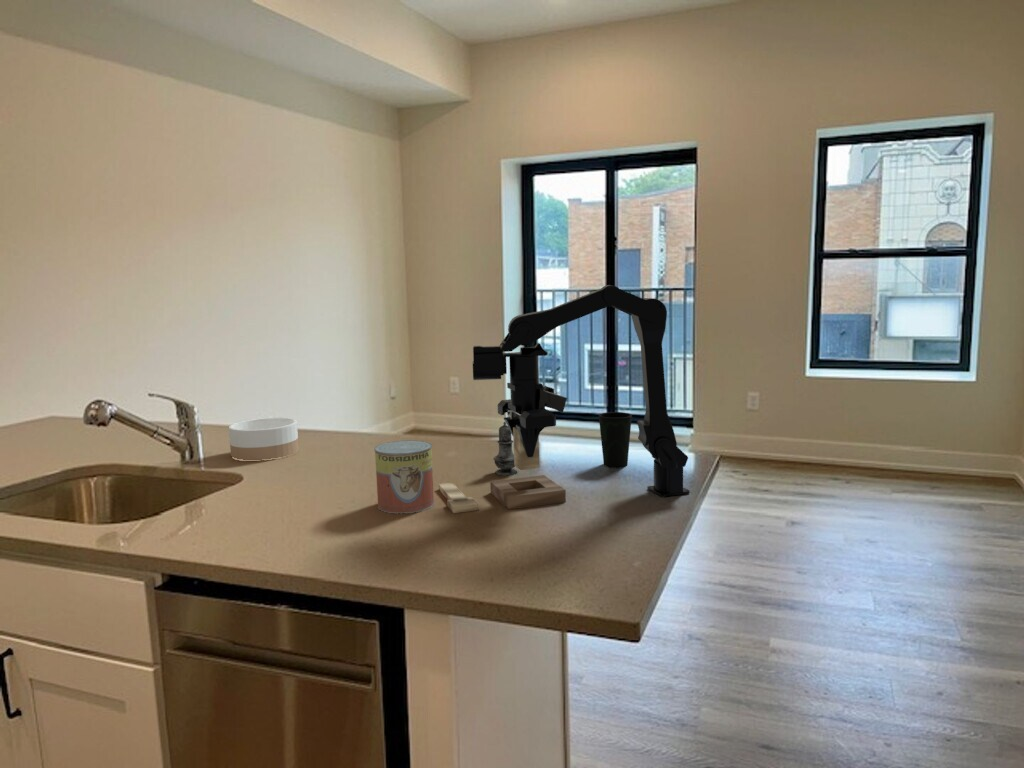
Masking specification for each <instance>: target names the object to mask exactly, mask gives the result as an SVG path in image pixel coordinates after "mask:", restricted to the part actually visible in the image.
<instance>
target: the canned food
mask: <svg viewBox="0 0 1024 768" xmlns="http://www.w3.org/2000/svg"><path fill="white" fill-rule="evenodd" d="M432 448H433V445H432V443H430V442H428V441H424V440H397V441H396V440H395V441H390V442H385V443H382V444H381V443H380V444H378V445H376V446H375V447H374V453H375V454H374V456H375V472H376V473H375V475H376V490H377V491H376V492H377V510H379V511H380V510H381V511H380V512H382V511H384V512H383V513H385V512H388V513H387V514H390V513H397V514H396V515H399V514H398V513H401V514H400V515H403V514H402V513H410V514H414V513H413V512H416V513H420V511H421V512H424V511H427V510H429V509H431V508H433V507H434V506H435V499H434V498H435V497H434V477H433V471H434V469H433V453H432V452H433V450H432Z"/></svg>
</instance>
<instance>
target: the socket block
mask: <svg viewBox="0 0 1024 768" xmlns="http://www.w3.org/2000/svg"><path fill="white" fill-rule="evenodd" d="M489 483H490V494H491V495H492V496H493V497H494V498H496V499H497V500H498V501H499V502H500V503H501V504H502V505H503V506H504V507H505V508H507V510H515V509H521V508H530V507H531V508H532V507H538V506H544V505H545V506H546V505H552V504H560V503H561V504H562V503H566V502H567V498H566V497H567V496H566V494H567V493H566V492H567V491H566V489H565V488H564V487H562V486H561V485H560V484H558V483H556V482H555V481H553V480H552V479H550V478H549V477H547V476H546V475H545V474H540V475H534V476H532V475H531V476H523V477H517V478H516V477H515V478H508V479H499V480H490V481H489Z"/></svg>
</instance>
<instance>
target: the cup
mask: <svg viewBox="0 0 1024 768" xmlns="http://www.w3.org/2000/svg"><path fill="white" fill-rule="evenodd" d="M632 417H633V415H632V414H631V413H628V412H622V411H609V412H603V413H600V414H599V415H598V421H599V423H598V424H599V432H600V441H601V451H602V459H603V466H604V465H606V466H609V467H608V468H611V467H616V468H620V467H621V468H626V467H628V464H629V462H628V461H629V451H630V440H631V430H632V429H631V428H632ZM606 466H605V467H606Z"/></svg>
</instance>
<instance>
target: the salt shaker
mask: <svg viewBox="0 0 1024 768" xmlns="http://www.w3.org/2000/svg"><path fill="white" fill-rule="evenodd" d="M497 443H498V453H497V455H495V456H494V457H493V458H492V459H493V461H494V464H495V466H496V468H498V469H497V470H496V471H495V472H494V474H495V475H496V474H497V476H500V475H501V476H502V477H508V476H507V475H510V476H515V475H517V474H518V470H516V469H515V467H516V466H514V451H513V443H514V441H513V440H512V434H511V431H510V430H509V428H508V426H507V424H506V422H505V421H504V422H503V424H502V426H500V427H499V428H498V441H497ZM514 474H515V475H514ZM501 476H500V477H501Z"/></svg>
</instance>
